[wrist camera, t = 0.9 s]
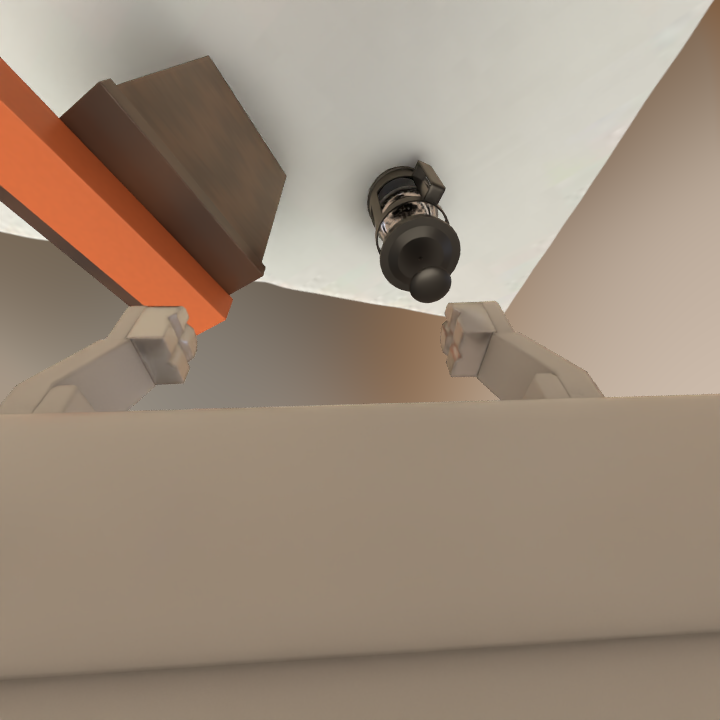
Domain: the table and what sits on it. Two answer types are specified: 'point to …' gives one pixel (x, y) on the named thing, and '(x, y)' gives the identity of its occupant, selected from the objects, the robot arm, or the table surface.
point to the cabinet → (181, 168)
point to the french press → (414, 233)
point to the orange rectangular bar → (97, 209)
